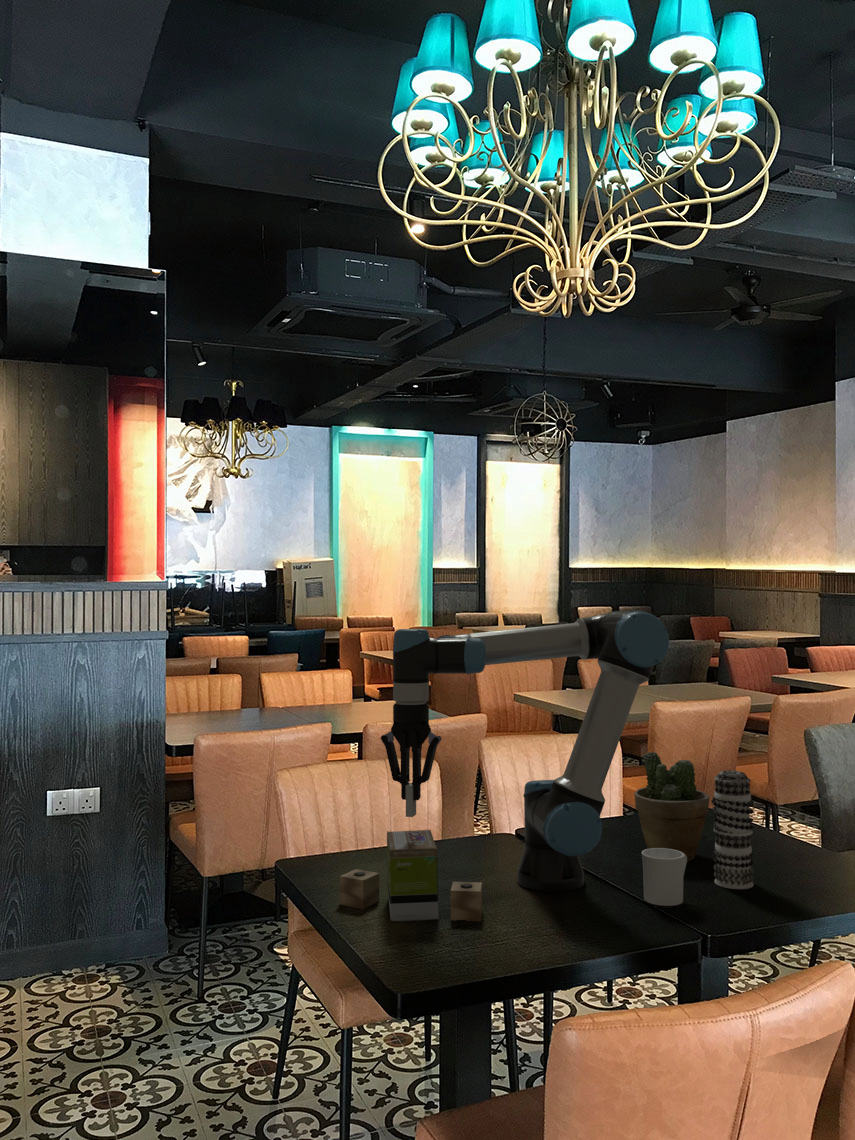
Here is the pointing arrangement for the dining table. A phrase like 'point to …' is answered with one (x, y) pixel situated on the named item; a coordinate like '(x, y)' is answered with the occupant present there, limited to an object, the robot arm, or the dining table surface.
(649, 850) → the mug
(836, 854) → the dining table surface
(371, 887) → the oak block
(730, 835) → the decorative candle
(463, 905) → the oak block
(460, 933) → the dining table surface
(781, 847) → the dining table surface
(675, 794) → the potted plant
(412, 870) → the tea box
